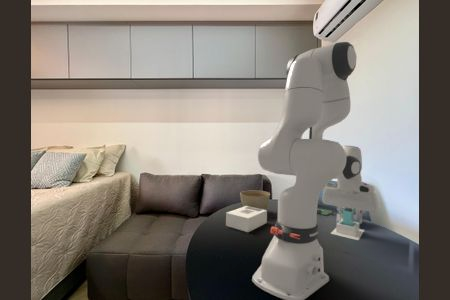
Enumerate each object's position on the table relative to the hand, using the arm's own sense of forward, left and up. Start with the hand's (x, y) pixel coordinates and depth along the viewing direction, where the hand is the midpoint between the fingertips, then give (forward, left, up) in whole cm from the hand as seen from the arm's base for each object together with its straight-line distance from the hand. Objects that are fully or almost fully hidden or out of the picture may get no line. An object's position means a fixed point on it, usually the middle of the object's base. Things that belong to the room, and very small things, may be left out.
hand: (348, 218), depth 96 cm
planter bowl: (+1, +46, -7) cm, 47 cm away
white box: (-17, +39, -7) cm, 43 cm away
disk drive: (+22, +20, -8) cm, 31 cm away
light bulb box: (+13, +2, -7) cm, 15 cm away
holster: (0, 0, -7) cm, 7 cm away
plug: (0, 0, -6) cm, 6 cm away
